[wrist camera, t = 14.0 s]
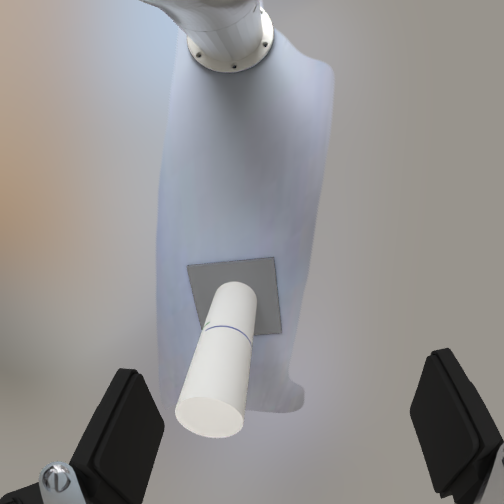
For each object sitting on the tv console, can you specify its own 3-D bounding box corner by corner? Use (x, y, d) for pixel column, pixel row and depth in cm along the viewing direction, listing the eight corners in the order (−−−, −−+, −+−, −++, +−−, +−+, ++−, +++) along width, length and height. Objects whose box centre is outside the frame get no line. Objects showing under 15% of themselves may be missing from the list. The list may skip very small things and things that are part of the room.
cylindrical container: (264, 309, 52) (255, 430, 29) (227, 324, 54) (199, 442, 31) (244, 274, 50) (220, 389, 27) (206, 291, 52) (161, 404, 29)
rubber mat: (188, 265, 51) (186, 267, 50) (273, 257, 50) (273, 259, 49) (204, 335, 56) (203, 337, 55) (281, 330, 55) (281, 332, 54)
